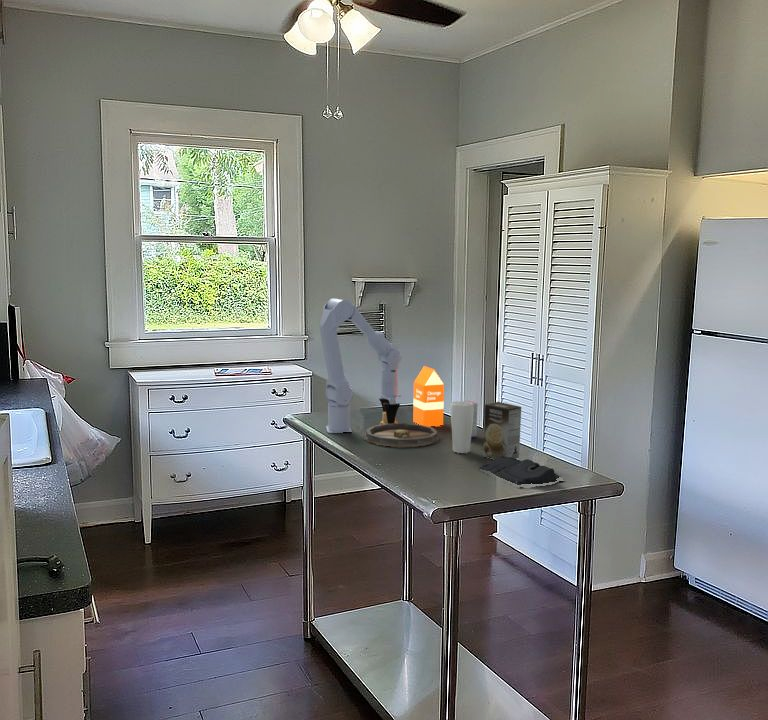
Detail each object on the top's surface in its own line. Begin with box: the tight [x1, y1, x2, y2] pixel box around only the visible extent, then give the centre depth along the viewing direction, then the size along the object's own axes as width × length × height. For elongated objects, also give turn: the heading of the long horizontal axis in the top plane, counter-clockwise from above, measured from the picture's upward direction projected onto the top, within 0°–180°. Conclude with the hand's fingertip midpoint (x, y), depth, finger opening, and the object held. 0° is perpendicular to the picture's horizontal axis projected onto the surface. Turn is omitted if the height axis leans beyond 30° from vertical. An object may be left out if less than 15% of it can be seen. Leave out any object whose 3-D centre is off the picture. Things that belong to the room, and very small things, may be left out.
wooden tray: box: [363, 422, 440, 448], centre depth 253 cm, size 24×24×3 cm
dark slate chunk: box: [478, 456, 561, 485], centre depth 212 cm, size 15×22×5 cm
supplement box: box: [465, 400, 478, 439], centre depth 255 cm, size 6×6×12 cm
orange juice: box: [412, 365, 445, 428], centre depth 273 cm, size 8×9×20 cm
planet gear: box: [379, 411, 399, 425], centre depth 271 cm, size 6×6×4 cm
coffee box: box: [482, 401, 522, 459], centre depth 228 cm, size 9×6×16 cm
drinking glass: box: [450, 400, 474, 454], centre depth 235 cm, size 7×7×15 cm
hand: (389, 420), depth 271 cm, fingers open, 7 cm apart
